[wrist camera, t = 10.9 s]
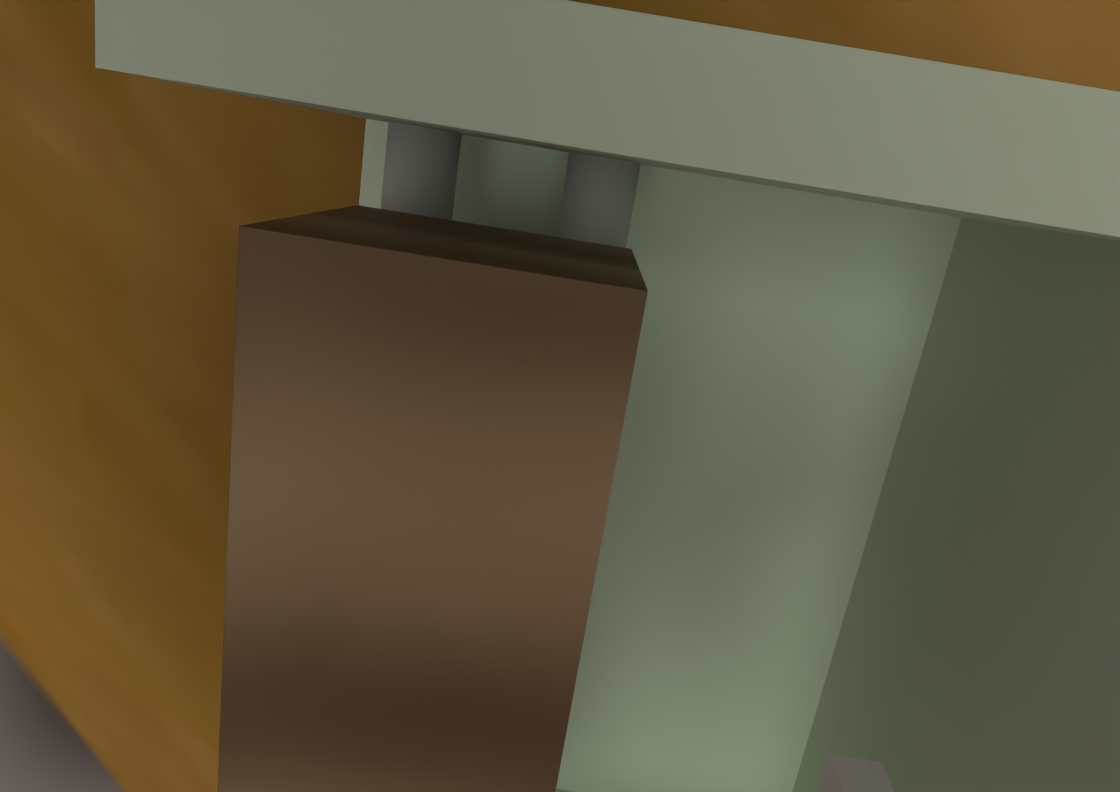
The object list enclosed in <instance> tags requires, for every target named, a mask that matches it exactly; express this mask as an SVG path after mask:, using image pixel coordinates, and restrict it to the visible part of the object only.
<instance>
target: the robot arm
mask: <svg viewBox="0 0 1120 792" xmlns="http://www.w3.org/2000/svg"><path fill="white" fill-rule="evenodd" d="M818 792H894V790H893V787H892V785H891V783H890V781H889V778H888V776H887V774H886V771H885V769H884V767H883V765H882V762H876V761H870V760H864V759H858V758H852V757H846V756H840V755H835V754H830V755H829V758H828V761H827V764H826V768H825V771H824V774H823V777H822V780H821V783H820V786H819V789H818Z"/></svg>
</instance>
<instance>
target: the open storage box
mask: <svg viewBox="0 0 1120 792" xmlns="http://www.w3.org/2000/svg"><path fill="white" fill-rule="evenodd" d="M95 68H101V69H106V70H111V71H116V72H122V73H127V74H132V75H137V76H143V77H148V78H153V79H159V80H164V81H169V82H174V83H180V84H185V85H190V86H195V87H201V88H206V89H211V90H217V91H222V92H227V93H232V94H238V95H243V96H248V97H253V98H259V99H264V100H269V101H275V102H280V103H285V104H290V105H296V106H301V107H306V108H312V109H317V110H322V111H327V112H333V113H338V114H343V115H348V116H354V117H359V118H364V119H366V126H365V138H364V150H363V162H362V173H361V185H360V197H359V205H360V206H366V207H372V208H379V209H385V210H391V211H397V212H404V213H410V214H416V215H422V216H429V217H435V218H441V219H448V220H454V221H460V222H466V223H473V224H479V225H485V226H491V227H498V228H504V229H510V230H517V231H523V232H529V233H535V234H542V235H548V236H554V237H560V238H567V239H573V240H579V241H585V242H592V243H598V244H604V245H611V246H617V247H623V248H629V249H632V251H633V254H634V256H635V259H636V262H637V264H638V267H639V269H640V272H641V275H642V277H643V280H644V282H645V285H646V288H647V290H648V293H647V299H646V304H645V310H644V315H643V321H642V326H641V331H640V337H639V342H638V348H637V353H636V358H635V364H634V369H633V375H632V380H631V385H630V391H629V396H628V402H627V407H626V413H625V418H624V423H623V429H622V434H621V440H620V445H619V450H618V456H617V461H616V467H615V472H614V478H613V483H612V488H611V494H610V499H609V505H608V510H607V515H606V521H605V526H604V532H603V537H602V543H601V548H600V553H599V559H598V564H597V570H596V575H595V580H594V586H593V591H592V597H591V602H590V608H589V613H588V618H587V624H586V629H585V635H584V640H583V645H582V651H581V656H580V662H579V667H578V672H577V678H576V683H575V689H574V694H573V700H572V705H571V710H570V716H569V721H568V727H567V732H566V737H565V743H564V748H563V754H562V759H561V765H560V770H559V775H558V781H557V786H556V792H818V789H819V786H820V783H821V780H822V777H823V774H824V771H825V768H826V764H827V761H828V758H829V755H830V754H835V755H840V756H846V757H852V758H858V759H864V760H870V761H876V762H882V765H883V767H884V769H885V771H886V774H887V776H888V778H889V781H890V783H891V785H892V787H893V790H894V792H1120V92H1117V91H1111V90H1105V89H1099V88H1093V87H1087V86H1081V85H1075V84H1069V83H1063V82H1057V81H1051V80H1045V79H1039V78H1033V77H1027V76H1021V75H1015V74H1009V73H1002V72H996V71H990V70H984V69H978V68H972V67H966V66H960V65H954V64H948V63H942V62H936V61H930V60H924V59H918V58H912V57H906V56H900V55H894V54H888V53H882V52H876V51H870V50H864V49H858V48H851V47H845V46H839V45H833V44H827V43H821V42H815V41H809V40H803V39H797V38H791V37H785V36H779V35H773V34H767V33H761V32H755V31H749V30H743V29H737V28H731V27H725V26H719V25H713V24H707V23H700V22H694V21H688V20H682V19H676V18H670V17H664V16H658V15H652V14H646V13H640V12H634V11H628V10H622V9H616V8H610V7H604V6H598V5H592V4H586V3H580V2H574V1H568V0H95Z"/></svg>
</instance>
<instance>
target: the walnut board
mask: <svg viewBox="0 0 1120 792" xmlns="http://www.w3.org/2000/svg"><path fill="white" fill-rule="evenodd" d="M647 293H648V290H647V288H646V285H645V282H644V280H643V277H642V275H641V272H640V269H639V267H638V264H637V262H636V259H635V256H634V254H633V251H632V249H629V248H623V247H617V246H611V245H604V244H598V243H592V242H585V241H579V240H573V239H567V238H560V237H554V236H548V235H542V234H535V233H529V232H523V231H517V230H510V229H504V228H498V227H491V226H485V225H479V224H473V223H466V222H460V221H454V220H448V219H441V218H435V217H429V216H422V215H416V214H410V213H404V212H397V211H391V210H385V209H379V208H372V207H366V206H360V205H357V206H351V207H345V208H340V209H334V210H328V211H322V212H317V213H311V214H305V215H300V216H294V217H288V218H283V219H277V220H271V221H266V222H260V223H254V224H248V225H243V226H239V248H238V275H237V301H236V327H235V353H234V379H233V405H232V431H231V458H230V484H229V510H228V536H227V562H226V588H225V614H224V640H223V667H222V693H221V719H220V745H219V771H218V792H556V786H557V781H558V775H559V770H560V765H561V759H562V754H563V748H564V743H565V737H566V732H567V727H568V721H569V716H570V710H571V705H572V700H573V694H574V689H575V683H576V678H577V672H578V667H579V662H580V656H581V651H582V645H583V640H584V635H585V629H586V624H587V618H588V613H589V608H590V602H591V597H592V591H593V586H594V580H595V575H596V570H597V564H598V559H599V553H600V548H601V543H602V537H603V532H604V526H605V521H606V515H607V510H608V505H609V499H610V494H611V488H612V483H613V478H614V472H615V467H616V461H617V456H618V450H619V445H620V440H621V434H622V429H623V423H624V418H625V413H626V407H627V402H628V396H629V391H630V385H631V380H632V375H633V369H634V364H635V358H636V353H637V348H638V342H639V337H640V331H641V326H642V321H643V315H644V310H645V304H646V299H647Z"/></svg>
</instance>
